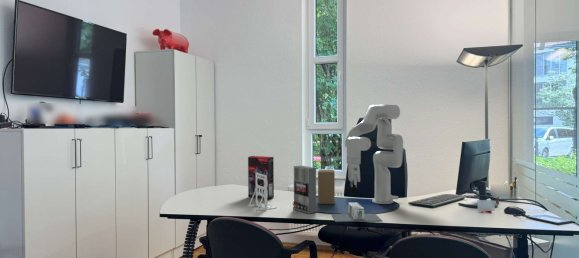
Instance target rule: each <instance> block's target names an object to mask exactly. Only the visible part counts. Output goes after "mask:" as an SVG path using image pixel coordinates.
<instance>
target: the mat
mask: <svg viewBox="0 0 579 258" xmlns="http://www.w3.org/2000/svg"><path fill="white" fill-rule="evenodd" d="M331 217H332V218H333V220H334V222H335V223H343V222H344V223H350V222H353V223H354V222H355V223H356V222H361V223H362V222H363V223H364V222H383V220H382V218H381V217H379V216H378V215H377V214H376V213H364V219H353V218H352V217H351V216H350V215H349V213H331Z"/></svg>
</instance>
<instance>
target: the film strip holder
mask: <svg viewBox="0 0 579 258" xmlns="http://www.w3.org/2000/svg"><path fill="white" fill-rule="evenodd" d="M257 175H258V177H257ZM259 175H260V177H259ZM261 176H262V178H261ZM263 177H264V179H263ZM258 178H259V179H263V180H264V187H262V186H259V185H258V183H257V179H258ZM258 188H259V192H258ZM260 189H261V193H260ZM263 190H264V194H263ZM255 192H256V198H255V203H252V201H253V198H254V194H255ZM255 192H254V194H253V196H252V197H251V199H250V201H249V203H248V205H247V206H246V207H247V208H253V207H257V209H255V211H256V212H260V211H261V212H262V211H267V210H275V209H278V207H277V206H274V205H271V204H270V203H268V200H269V199H267V197H268V192H267V175H263V174H259V173H256V188H255ZM258 195H260V196H263V197H264V199H263V197H262V198H260V199H261V200H260V201H259V200H258V199H259V198H257V197H258ZM263 200H264V202H263V203H262V201H263ZM252 206H253V207H252Z"/></svg>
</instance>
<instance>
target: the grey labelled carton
mask: <svg viewBox="0 0 579 258" xmlns="http://www.w3.org/2000/svg"><path fill="white" fill-rule="evenodd" d="M292 209H293V210H295V211H299V212H302V213H306V214H307V215H310V214H313V213H317V211H318V210H317V168H316V167H313V166H306V165H294V166H293V207H292Z"/></svg>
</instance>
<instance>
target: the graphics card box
mask: <svg viewBox="0 0 579 258" xmlns="http://www.w3.org/2000/svg"><path fill="white" fill-rule="evenodd" d="M274 159H275V158H274V156H266V155H265V156H263V155H262V156H261V155H250V156H248V157H247V181H248V183H247V186H248V190H247V192H248V193H247V195H248V197H249V198H252V196H253V194H254V192H255V188H256V173H259V174H263V175H267V192H268V197H267V200H270V199H274V198H275V193H274V192H275V191H274V190H275V188H274V187H275V183H274V182H275V181H274V179H275V178H274V176H275V175H274V171H275V170H274V164H275V163H274ZM257 177H258V175H257ZM259 177H260V175H259ZM261 178H262V176H261ZM263 179H264V177H263ZM263 179H259V178H258V179H257V183H258V185H259V186H262V187H264V180H263ZM258 192H259V188H258ZM260 193H261V189H260ZM263 194H264V190H263ZM262 197H263V196H260V195H258V197H257V199H262ZM253 198H255V199H256V192H255V194H254V197H253ZM262 200H264V197H263V199H262Z"/></svg>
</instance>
